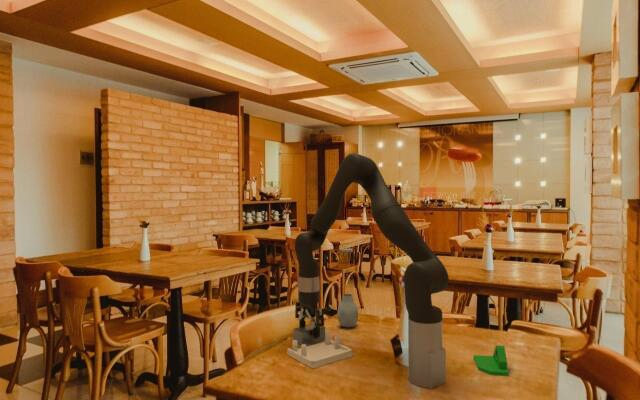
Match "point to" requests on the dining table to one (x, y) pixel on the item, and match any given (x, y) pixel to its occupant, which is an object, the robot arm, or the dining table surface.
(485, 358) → the bracket
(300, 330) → the block
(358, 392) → the dining table surface
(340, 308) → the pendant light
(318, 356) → the tray
